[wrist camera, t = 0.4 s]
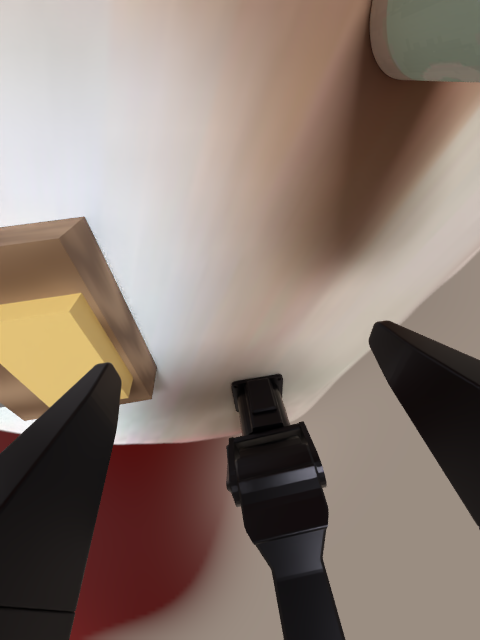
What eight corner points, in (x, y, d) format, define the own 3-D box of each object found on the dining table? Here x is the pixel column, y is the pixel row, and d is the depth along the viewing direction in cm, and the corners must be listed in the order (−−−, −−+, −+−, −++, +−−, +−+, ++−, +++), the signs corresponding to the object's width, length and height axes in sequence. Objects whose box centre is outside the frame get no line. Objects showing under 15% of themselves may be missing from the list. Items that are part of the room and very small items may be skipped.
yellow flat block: (133, 378, 21) (128, 397, 20) (63, 389, 21) (52, 410, 19) (81, 292, 15) (69, 311, 14) (-16, 307, 15) (-40, 327, 14)
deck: (156, 367, 27) (151, 398, 23) (44, 385, 26) (24, 420, 23) (84, 216, 16) (58, 238, 13) (-105, 240, 16) (-177, 269, 13)
